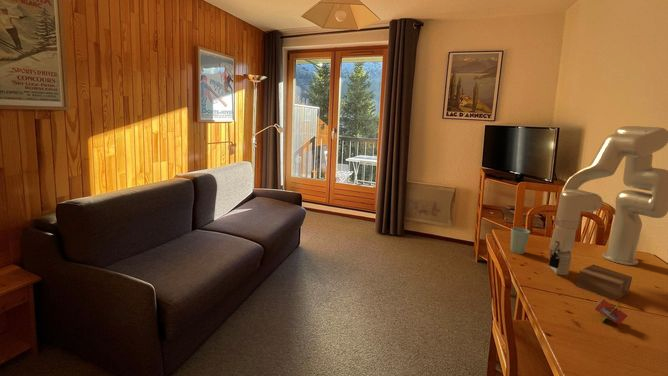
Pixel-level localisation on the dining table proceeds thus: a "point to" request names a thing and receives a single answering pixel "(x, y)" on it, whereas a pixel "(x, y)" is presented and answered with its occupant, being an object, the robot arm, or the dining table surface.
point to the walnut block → (604, 282)
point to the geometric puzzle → (610, 312)
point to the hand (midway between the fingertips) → (558, 264)
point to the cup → (519, 239)
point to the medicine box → (563, 264)
